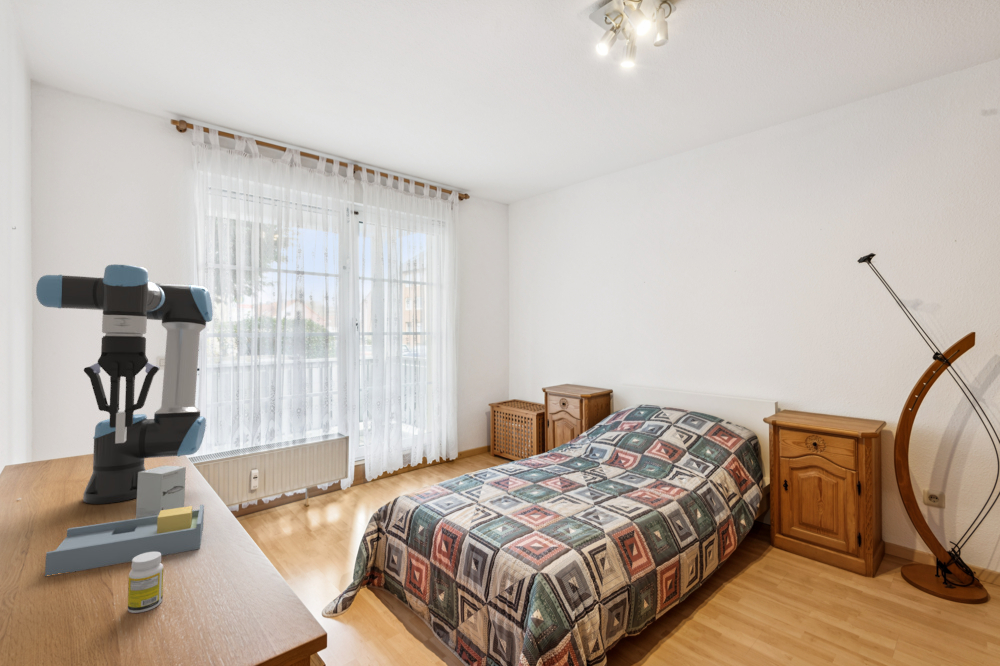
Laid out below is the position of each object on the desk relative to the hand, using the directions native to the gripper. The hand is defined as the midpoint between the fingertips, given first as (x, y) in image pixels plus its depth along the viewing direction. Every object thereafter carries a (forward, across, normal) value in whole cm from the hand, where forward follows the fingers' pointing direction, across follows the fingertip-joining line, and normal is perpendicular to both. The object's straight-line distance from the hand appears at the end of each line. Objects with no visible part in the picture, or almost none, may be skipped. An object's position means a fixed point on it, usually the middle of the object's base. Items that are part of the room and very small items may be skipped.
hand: (120, 441), depth 98 cm
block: (+21, +10, -2) cm, 23 cm away
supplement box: (+24, +6, +17) cm, 30 cm away
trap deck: (+24, +3, -2) cm, 24 cm away
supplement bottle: (+23, +8, -30) cm, 39 cm away
